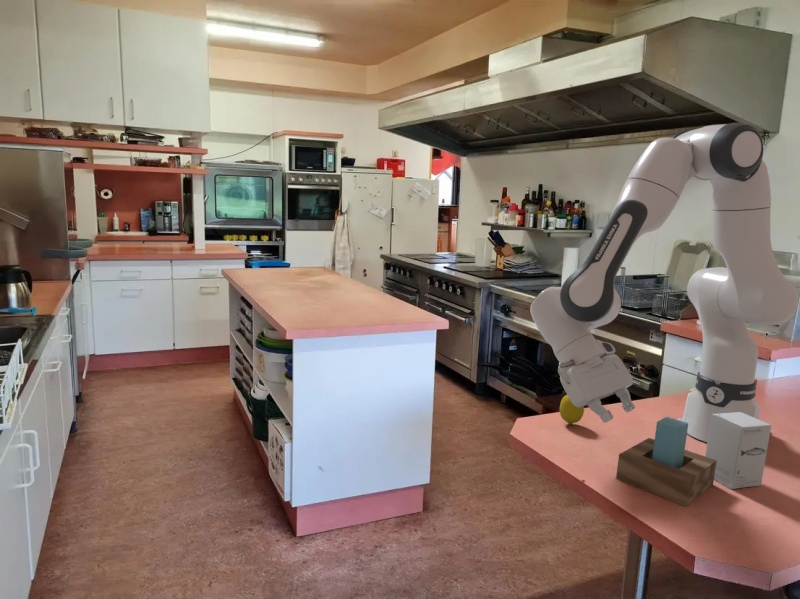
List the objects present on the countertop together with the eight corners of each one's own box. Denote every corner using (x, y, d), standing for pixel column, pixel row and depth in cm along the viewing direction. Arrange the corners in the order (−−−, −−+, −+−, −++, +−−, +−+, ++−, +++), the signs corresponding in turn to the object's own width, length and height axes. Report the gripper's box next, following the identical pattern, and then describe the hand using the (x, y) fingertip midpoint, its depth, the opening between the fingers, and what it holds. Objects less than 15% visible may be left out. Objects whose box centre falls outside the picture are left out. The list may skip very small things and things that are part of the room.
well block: (646, 460, 120) (649, 437, 119) (713, 484, 110) (716, 460, 109) (616, 478, 111) (619, 454, 110) (685, 506, 102) (689, 480, 101)
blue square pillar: (659, 469, 113) (667, 416, 112) (680, 477, 111) (688, 423, 109) (649, 476, 110) (656, 421, 109) (671, 484, 108) (678, 428, 106)
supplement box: (732, 490, 108) (742, 427, 106) (701, 472, 115) (710, 412, 113) (762, 486, 111) (773, 424, 108) (730, 469, 118) (740, 410, 115)
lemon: (583, 430, 134) (586, 397, 133) (558, 427, 135) (562, 395, 134) (580, 421, 140) (584, 390, 138) (557, 419, 141) (560, 387, 139)
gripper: (565, 356, 112) (607, 419, 107) (615, 343, 126) (654, 398, 121) (543, 373, 116) (582, 434, 111) (594, 358, 130) (631, 412, 125)
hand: (620, 415), depth 116 cm, fingers open, 8 cm apart
